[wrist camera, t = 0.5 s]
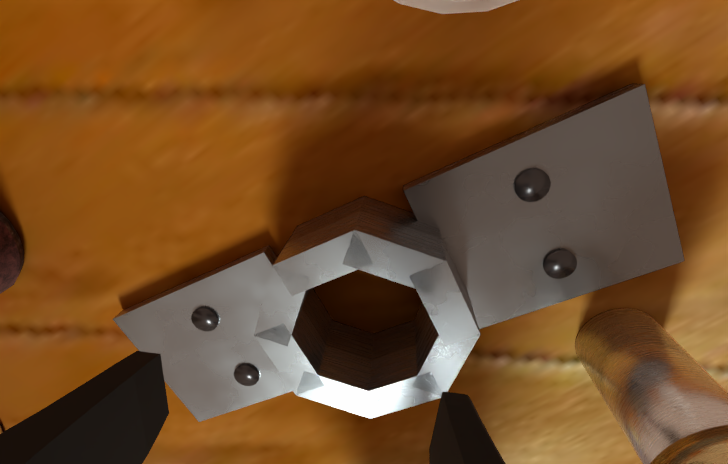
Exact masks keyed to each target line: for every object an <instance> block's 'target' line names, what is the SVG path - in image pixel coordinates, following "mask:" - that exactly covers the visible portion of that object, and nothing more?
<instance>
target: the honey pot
mask: <svg viewBox="0 0 728 464" xmlns="http://www.w3.org/2000/svg"><path fill="white" fill-rule="evenodd" d="M394 1H395V2H397V3H399V4H403V5H407V6H411V7H415V8H419V9H423V10H427V11H431V12H436V13H440V14H451V13H468V12H484V11H490V10H493V9H495V8H498V7H501V6H504V5H507V4H510V3H513V2H515V1H518V0H394Z"/></svg>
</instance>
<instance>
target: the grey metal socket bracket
mask: <svg viewBox="0 0 728 464" xmlns="http://www.w3.org/2000/svg"><path fill="white" fill-rule="evenodd" d="M403 190H404V193H405V195H406V197H407V199H408V201H409V203H410V206H411V208H412V210H413V212H414V213H411V212H408V211H406V210H403V209H400V208H397V207H394V206H391V205H388V204H385V203H383V202H380V201H377V200H374V199H371V198H368V197H365V196H363V197H361V198H359V199H356V200H354V201H352V202H350V203H347V204H345V205H343V206H341V207H339V208H336V209H334V210H332V211H330V212H327V213H325V214H323V215H321V216H319V217H316V218H314V219H312V220H310V221H307V222H305V223H303V224H301V225H299V226H297V227H296V229H295V230H294V232H293V234H292V235H291V237H290V238H289V240H288V241H287V243H286V245H285V246H284V248H283V249H282V251H281V253H280V254H279V256H278V257H276V255H275V254H274V252H273V251H272V249H271V248H270V246H266V247H264V248H262V249H260V250H257V251H255V252H253V253H251V254H248V255H246V256H244V257H242V258H239V259H237V260H235V261H233V262H230V263H228V264H226V265H224V266H221V267H219V268H217V269H215V270H212V271H210V272H208V273H206V274H203V275H201V276H199V277H197V278H194V279H192V280H190V281H188V282H185V283H183V284H181V285H179V286H176V287H174V288H172V289H170V290H167V291H165V292H163V293H161V294H158V295H156V296H154V297H152V298H149V299H147V300H145V301H143V302H140V303H138V304H136V305H134V306H131V307H129V308H127V309H125V310H122V311H121V312H120V313H119V314H118V315H117V316H116V317H115V318H113V320H114V321H115V322H116V324H117V325H118V326H119V327H120V328H121V330H122V331H123V332H124V333H125V334H126V336H127V337H128V338H129V339H130V340H131V341H132V343H133V344H134V345H135V346H136V347H137V349H138V350H139V351H143V352H150V353H158V354H161V361H162V368H163V375H164V381H165V382H166V383H167V384H168V385H169V387H170V388H171V389H172V390H173V391H174V393H175V394H176V395H177V396H178V397H179V399H180V400H181V401H182V402H183V403H184V404H185V406H186V407H187V408H188V409H189V410H190V412H191V413H192V414H193V415H194V416H195V418H196V419H197V420H198V421H199V422H200V421H203V420H206V419H209V418H212V417H215V416H218V415H222V414H225V413H228V412H231V411H234V410H237V409H240V408H243V407H246V406H249V405H252V404H255V403H258V402H261V401H264V400H267V399H270V398H273V397H276V396H279V395H282V394H285V393H288V392H291V391H293V392H294V393H295V395H297V396H300V397H304V398H307V399H310V400H313V401H316V402H319V403H323V404H326V405H329V406H332V407H335V408H338V409H341V410H345V411H348V412H351V413H354V414H357V415H360V416H364V417H367V418H370V419H371V418H375V417H378V416H382V415H385V414H388V413H392V412H395V411H399V410H402V409H405V408H409V407H412V406H416V405H419V404H422V403H426V402H429V401H433V400H436V399H439V398H441V396H442V391H443V392H448V390H449V388H450V386H451V385H452V383H453V381H454V380H455V378H456V376H457V374H458V373H459V371H460V369H461V367H462V366H463V364H464V362H465V360H466V359H467V357H468V355H469V353H470V352H471V350H472V348H473V347H474V345H475V343H476V341H477V340H478V338H479V336H480V331H479V329H481V328H484V327H487V326H490V325H493V324H496V323H499V322H502V321H505V320H508V319H511V318H514V317H517V316H520V315H523V314H526V313H529V312H532V311H535V310H538V309H541V308H544V307H547V306H550V305H553V304H556V303H559V302H563V301H566V300H569V299H572V298H575V297H578V296H581V295H584V294H587V293H590V292H593V291H596V290H599V289H602V288H605V287H608V286H611V285H614V284H617V283H620V282H623V281H626V280H629V279H632V278H635V277H638V276H641V275H644V274H647V273H650V272H653V271H656V270H659V269H662V268H665V267H668V266H671V265H674V264H677V263H680V262H683V261H684V256H683V252H682V248H681V243H680V239H679V234H678V230H677V225H676V221H675V216H674V212H673V208H672V203H671V199H670V194H669V190H668V185H667V181H666V176H665V172H664V167H663V163H662V159H661V154H660V150H659V145H658V141H657V136H656V132H655V127H654V123H653V119H652V114H651V110H650V105H649V101H648V96H647V92H646V87H645V84H635V83H633V84H630V85H628V86H626V87H624V88H621V89H619V90H617V91H615V92H612V93H610V94H608V95H606V96H603V97H601V98H599V99H597V100H594V101H592V102H590V103H588V104H585V105H583V106H581V107H579V108H576V109H574V110H572V111H570V112H567V113H565V114H563V115H561V116H558V117H556V118H554V119H552V120H549V121H547V122H545V123H543V124H540V125H538V126H536V127H534V128H531V129H529V130H527V131H525V132H522V133H520V134H518V135H516V136H513V137H511V138H509V139H507V140H505V141H502V142H500V143H498V144H496V145H493V146H491V147H489V148H487V149H484V150H482V151H480V152H478V153H475V154H473V155H471V156H469V157H466V158H464V159H462V160H460V161H457V162H455V163H453V164H451V165H448V166H446V167H444V168H442V169H439V170H437V171H435V172H433V173H430V174H428V175H426V176H424V177H421V178H419V179H417V180H415V181H412V182H410V183H408V184H406V185H403ZM356 270H361V271H364V272H367V273H370V274H373V275H376V276H379V277H382V278H385V279H388V280H391V281H394V282H397V283H400V284H403V285H406V286H409V287H412V288H415V289H416V291H417V292H418V294H419V296H420V298H421V300H422V304H421V306H420V309H419V311H418V313H417V315H416V317H415V319H414V320H412V321H409V322H407V323H404V324H401V325H398V326H395V327H392V328H390V329H387V330H384V331H381V332H378V333H375V334H372V333H369V332H366V331H363V330H360V329H357V328H354V327H351V326H348V325H345V324H342V323H339V322H336V321H333V320H332V319H331V317H330V316H329V314H328V312H327V311H326V309H325V307H324V306H323V304H322V303H321V301H320V299H319V298H318V296H317V294H316V293H315V291H314V289H313V287H316V286H318V285H321V284H323V283H326V282H328V281H331V280H333V279H336V278H338V277H341V276H343V275H346V274H348V273H351V272H353V271H356Z"/></svg>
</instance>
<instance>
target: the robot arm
mask: <svg viewBox="0 0 728 464" xmlns="http://www.w3.org/2000/svg"><path fill="white" fill-rule="evenodd" d="M168 414H169V410H168V403H167V396H166V389H165V382H164V375H163V368H162V361H161V354H158V353H150V352H143V351H136V352H135V353H133V354H131V355H130V356H128V357H126V358H124V359H123V360H121V361H120V362H118V363H116V364H115V365H113V366H112V367H110V368H108V369H107V370H105V371H104V372H102V373H100V374H99V375H97V376H96V377H94V378H92V379H91V380H89V381H88V382H86V383H85V384H83V385H81V386H80V387H78V388H76V389H75V390H73V391H72V392H70V393H68V394H67V395H65V396H64V397H62V398H60V399H59V400H57V401H55V402H54V403H52V404H51V405H49V406H47V407H46V408H44V409H42V410H41V411H39V412H37V413H36V414H34V415H32V416H30V417H29V418H27V419H25V420H24V421H22V422H20V423H18V424H17V425H15V426H13V427H11V428H10V429H8V430H6V431H4V432H3V433H1V434H0V464H142V463H143V461H144V460H145V458H146V456H147V455H148V453H149V451H150V449H151V447H152V446H153V444H154V442H155V440H156V438H157V436H158V434H159V432H160V430H161V428H162V426H163V424H164V422H165V420H166V418H167V416H168ZM429 453H430V464H505V462H504V461H503V459H502V457H501V455H500V454H499V452H498V450H497V448H496V447H495V445H494V443H493V441H492V439H491V437H490V436H489V434H488V432H487V430H486V428H485V426H484V424H483V423H482V421H481V419H480V417H479V415H478V413H477V411H476V409H475V407H474V405H473V403H472V401H471V399H470V398H469V396H468V395H465V394H458V393H450V392H443V391H442V396H441V400H440V404H439V409H438V413H437V418H436V422H435V427H434V431H433V436H432V440H431V445H430V449H429Z"/></svg>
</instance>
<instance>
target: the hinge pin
mask: <svg viewBox="0 0 728 464" xmlns="http://www.w3.org/2000/svg"><path fill="white" fill-rule="evenodd" d="M575 350H576V354H577V356H578V358H579V359H580V361H581V363H582V364H583V366H584V368H585V369H586V371H587V373H588V374H589V376H590V378H591V379H592V381H593V382H594V384H595V386H596V387H597V389H598V391H599V392H600V394H601V396H602V397H603V399H604V401H605V402H606V404H607V405H608V407H609V409H610V410H611V412H612V414H613V415H614V417H615V419H616V420H617V422H618V423H619V425H620V427H621V428H622V430H623V432H624V433H625V435H626V437H627V438H628V440H629V442H630V443H631V445H632V446H633V448H634V450H635V451H636V453H637V455H638V456H639V458H640V460H641V461H642V463H643V464H728V393H727V392H726V391H725V390H724V389H723V388H722V387H721V386H720V385H719V384H718V383H717V382H716V381H715V380H714V379H713V378H712V377H711V376H710V375H709V374H708V373H707V372H706V371H705V370H704V369H703V368H702V367H701V366H700V365H699V364H698V363H697V362H696V361H695V360H694V359H693V358H692V357H691V356H690V355H689V354H688V353H687V352H686V351H685V350H684V349H683V348H682V347H681V346H680V345H679V344H678V343H677V342H676V341H675V340H674V339H673V338H672V337H671V336H670V335H669V334H668V333H667V332H666V331H665V330H664V329H663V328H662V327H661V326H660V325H659V324H658V323H657V322H656V321H655V320H654V319H653V318H652V317H651V316H650V315H648V314H647V313H645V312H642V311H640V310H636V309H630V308H620V309H613V310H609V311H606V312H603V313H601V314H599V315H597V316H595V317H594V318H592V319H591V320H589V321H588V322H587V323H586V324H585V325H584V326H583V327H582V328H581V330H580V331H579V333H578V335H577V338H576V342H575Z"/></svg>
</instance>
